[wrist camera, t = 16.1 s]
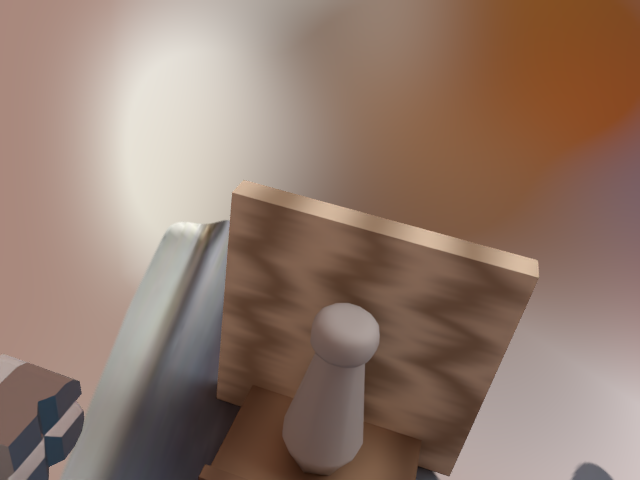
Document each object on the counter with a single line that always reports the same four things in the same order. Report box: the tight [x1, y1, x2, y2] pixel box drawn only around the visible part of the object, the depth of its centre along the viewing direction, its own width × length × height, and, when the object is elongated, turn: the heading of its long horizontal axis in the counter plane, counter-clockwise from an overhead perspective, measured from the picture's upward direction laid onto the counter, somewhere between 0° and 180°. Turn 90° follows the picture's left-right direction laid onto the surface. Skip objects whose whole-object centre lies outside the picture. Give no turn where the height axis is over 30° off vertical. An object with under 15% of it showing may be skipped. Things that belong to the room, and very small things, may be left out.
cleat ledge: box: [198, 385, 422, 480], centre depth 42 cm, size 14×10×4 cm
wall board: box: [216, 180, 539, 476], centre depth 43 cm, size 20×2×20 cm, turn 74°
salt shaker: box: [282, 303, 380, 476], centre depth 39 cm, size 6×6×13 cm
